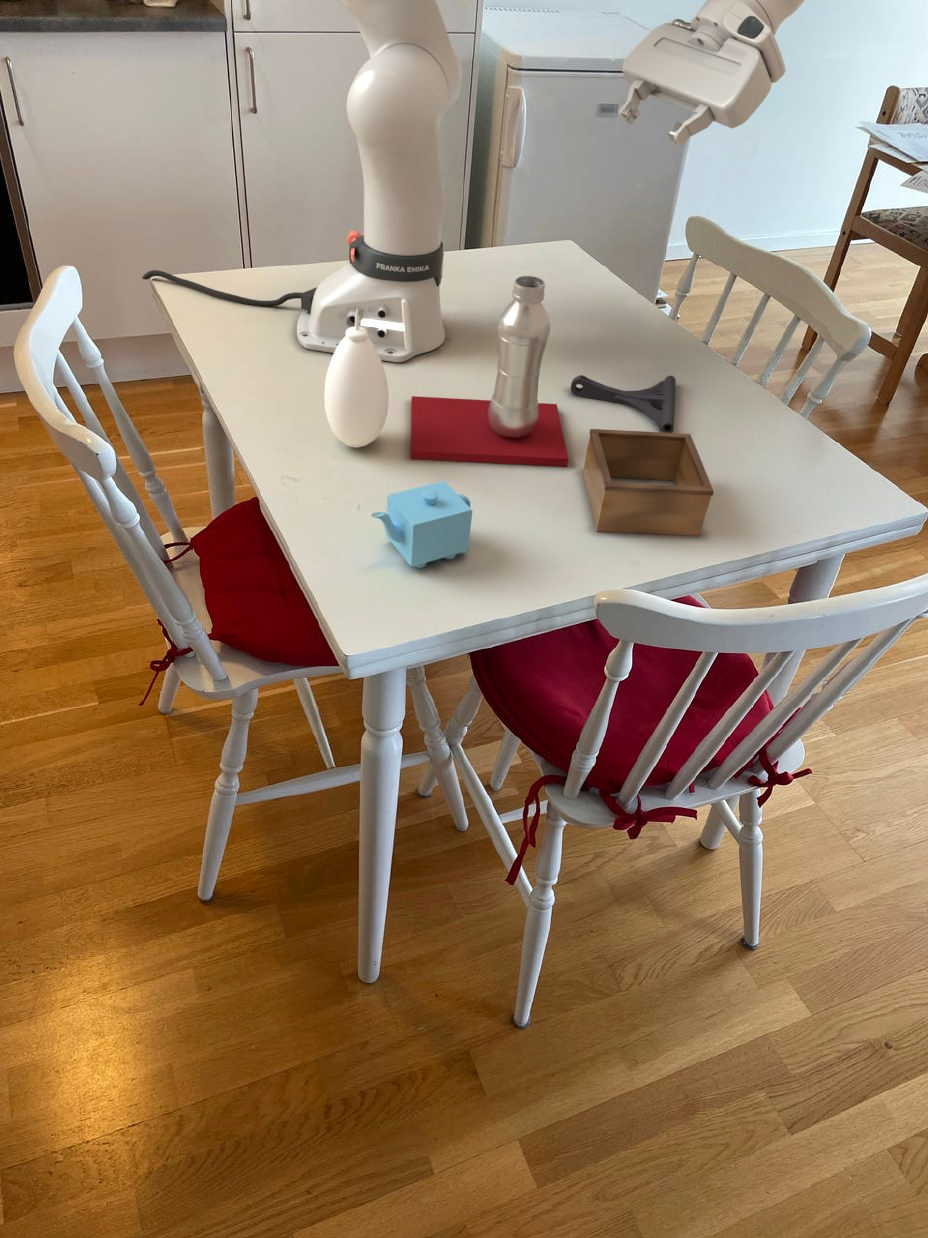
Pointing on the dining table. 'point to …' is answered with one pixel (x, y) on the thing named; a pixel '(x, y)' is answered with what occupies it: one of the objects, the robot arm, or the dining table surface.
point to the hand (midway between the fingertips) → (648, 129)
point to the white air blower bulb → (356, 389)
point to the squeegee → (635, 398)
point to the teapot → (427, 523)
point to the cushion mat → (481, 434)
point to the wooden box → (646, 503)
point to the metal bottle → (519, 359)
